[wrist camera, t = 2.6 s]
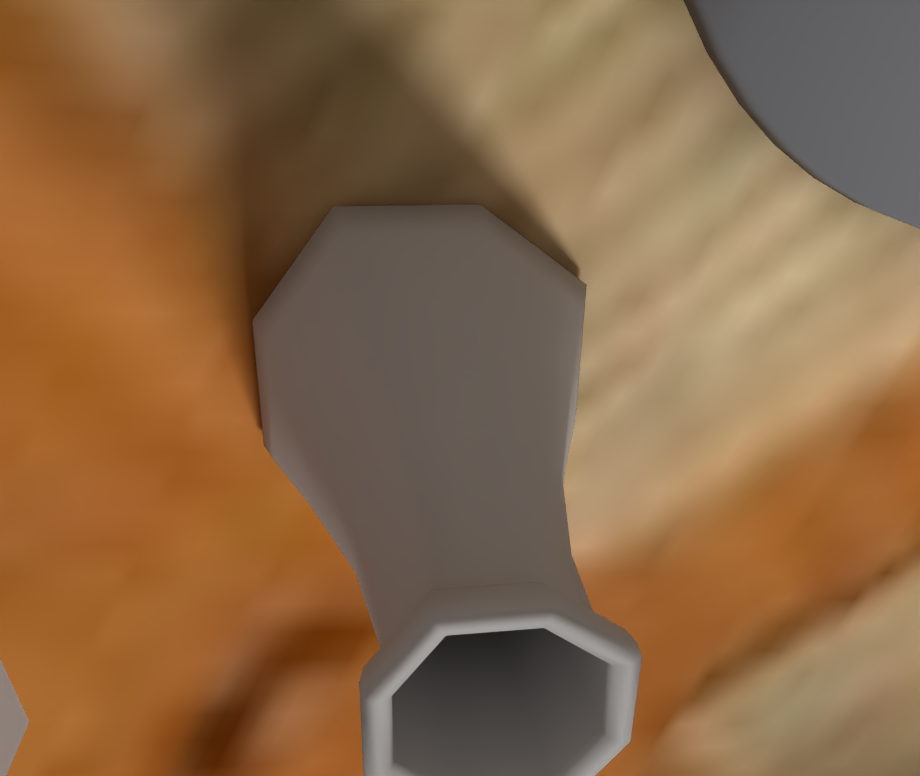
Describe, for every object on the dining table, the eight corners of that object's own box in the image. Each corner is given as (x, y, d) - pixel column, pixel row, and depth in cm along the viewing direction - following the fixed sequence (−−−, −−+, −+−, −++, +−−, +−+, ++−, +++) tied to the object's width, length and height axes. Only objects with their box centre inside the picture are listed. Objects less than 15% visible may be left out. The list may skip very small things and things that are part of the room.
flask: (299, 142, 16) (250, 342, 7) (637, 252, 18) (942, 522, 9) (214, 464, 19) (99, 906, 10) (516, 532, 20) (655, 957, 12)
